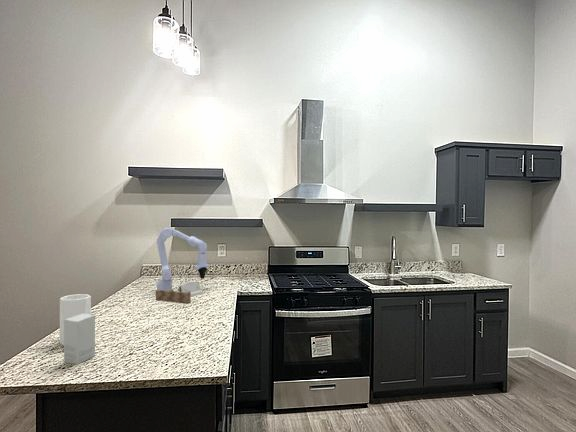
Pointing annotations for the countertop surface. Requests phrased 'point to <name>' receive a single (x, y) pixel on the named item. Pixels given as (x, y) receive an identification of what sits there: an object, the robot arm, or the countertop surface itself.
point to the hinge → (191, 288)
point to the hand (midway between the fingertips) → (202, 278)
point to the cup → (73, 309)
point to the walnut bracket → (173, 296)
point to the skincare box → (79, 338)
